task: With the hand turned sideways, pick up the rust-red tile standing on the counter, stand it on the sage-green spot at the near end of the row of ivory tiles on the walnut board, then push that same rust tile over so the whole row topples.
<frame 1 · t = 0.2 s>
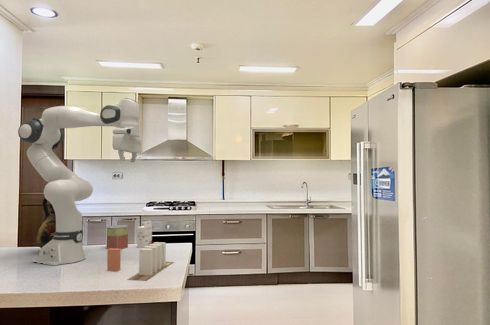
hand: (127, 161, 146), 47 cm above the counter, tool pointing down, fingers open, 8 cm apart
ink cartridge box: (144, 246, 178), on the counter
rust tile: (113, 273, 129), on the counter
ivory tile 5: (145, 274, 123), point 1 cm above the counter, touching walnut board
ivory tile 4: (150, 271, 127), point 1 cm above the counter, touching walnut board
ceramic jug: (51, 251, 167), on the counter
canned food: (117, 248, 176), on the counter
ivory tile 3: (155, 268, 131), point 1 cm above the counter, touching walnut board
walnut board: (152, 272, 129), on the counter
ivory tile 2: (159, 265, 135), point 1 cm above the counter, touching walnut board
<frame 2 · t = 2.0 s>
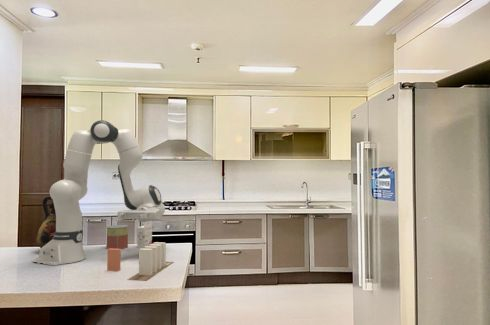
hand: (130, 216, 142), 22 cm above the counter, tool horizontal, fingers open, 8 cm apart
nothing on the counter moved.
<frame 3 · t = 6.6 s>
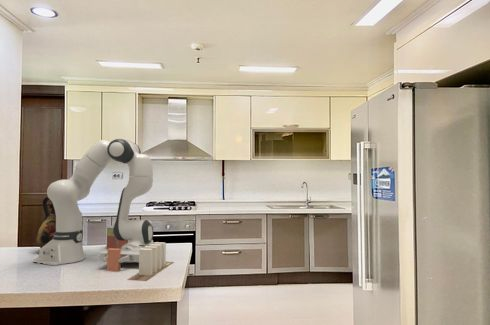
hand: (112, 260, 128), 6 cm above the counter, tool horizontal, fingers closed on rust tile, 5 cm apart
rust tile: (113, 273, 129), on the counter, touching gripper
everything else where it was.
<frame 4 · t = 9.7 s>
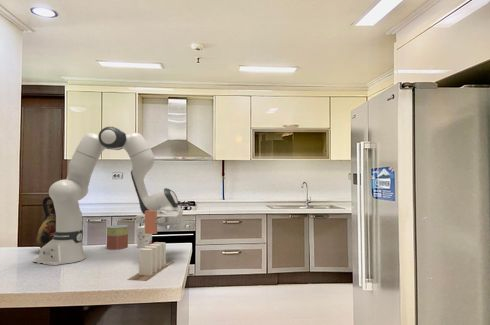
hand: (150, 221, 136), 21 cm above the counter, tool horizontal, fingers closed on rust tile, 5 cm apart
rust tile: (151, 233, 136), point 15 cm above the counter, touching gripper
everything else where it was.
when the fingers open (8 cm above the counter, at t = 13.1 s): rust tile stays where it is, resting on walnut board.
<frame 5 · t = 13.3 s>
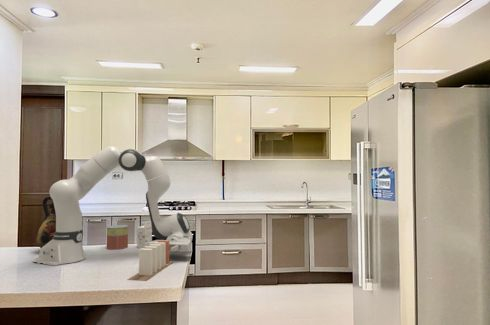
hand: (162, 249, 138), 8 cm above the counter, tool horizontal, fingers open, 6 cm apart
rust tile: (163, 263, 139), point 1 cm above the counter, touching walnut board
everything else where it was.
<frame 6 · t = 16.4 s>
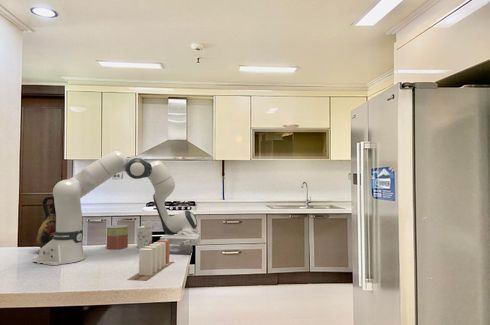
hand: (174, 243, 151), 8 cm above the counter, tool horizontal, fingers open, 8 cm apart
nothing on the counter moved.
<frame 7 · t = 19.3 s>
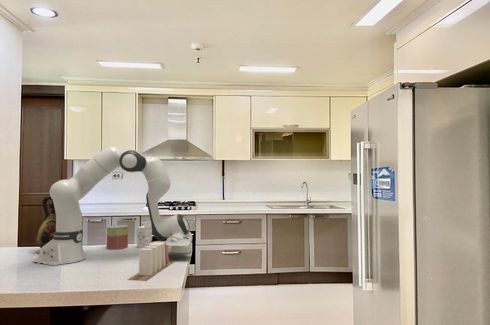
hand: (162, 250, 138), 7 cm above the counter, tool horizontal, fingers closed
rust tile: (163, 262, 139), point 2 cm above the counter, tilted 20°, touching walnut board
ivory tile 2: (159, 265, 135), point 1 cm above the counter, tilted 6°, touching walnut board
everything else where it was.
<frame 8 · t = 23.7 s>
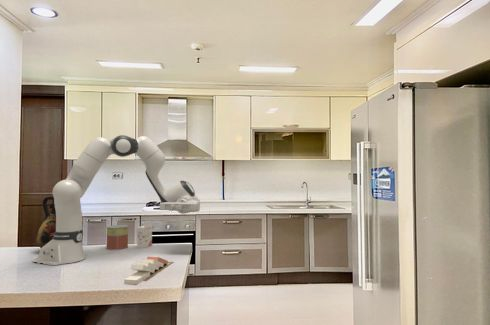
hand: (173, 207, 151), 25 cm above the counter, tool horizontal, fingers closed
rust tile: (162, 262, 138), point 2 cm above the counter, tilted 67°, touching ivory tile 2, walnut board
ivory tile 5: (144, 273, 122), point 2 cm above the counter, tilted 90°, touching ivory tile 4, walnut board
ivory tile 4: (148, 270, 126), point 2 cm above the counter, tilted 66°, touching ivory tile 3, ivory tile 5, walnut board
ivory tile 3: (153, 267, 129), point 2 cm above the counter, tilted 66°, touching ivory tile 2, ivory tile 4
ivory tile 2: (158, 265, 134), point 2 cm above the counter, tilted 66°, touching ivory tile 3, rust tile, walnut board
everything else where it was.
at the end: ivory tile 5 tilted 90°; rust tile tilted 67°; rust tile inside the target area (0.2 cm from its centre), point 2.0 cm above the counter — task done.
